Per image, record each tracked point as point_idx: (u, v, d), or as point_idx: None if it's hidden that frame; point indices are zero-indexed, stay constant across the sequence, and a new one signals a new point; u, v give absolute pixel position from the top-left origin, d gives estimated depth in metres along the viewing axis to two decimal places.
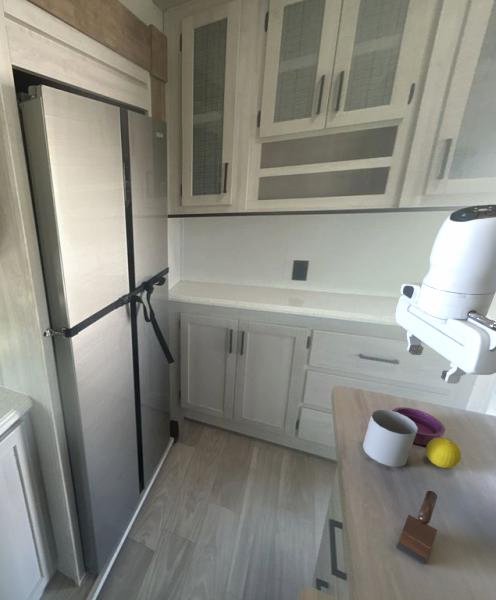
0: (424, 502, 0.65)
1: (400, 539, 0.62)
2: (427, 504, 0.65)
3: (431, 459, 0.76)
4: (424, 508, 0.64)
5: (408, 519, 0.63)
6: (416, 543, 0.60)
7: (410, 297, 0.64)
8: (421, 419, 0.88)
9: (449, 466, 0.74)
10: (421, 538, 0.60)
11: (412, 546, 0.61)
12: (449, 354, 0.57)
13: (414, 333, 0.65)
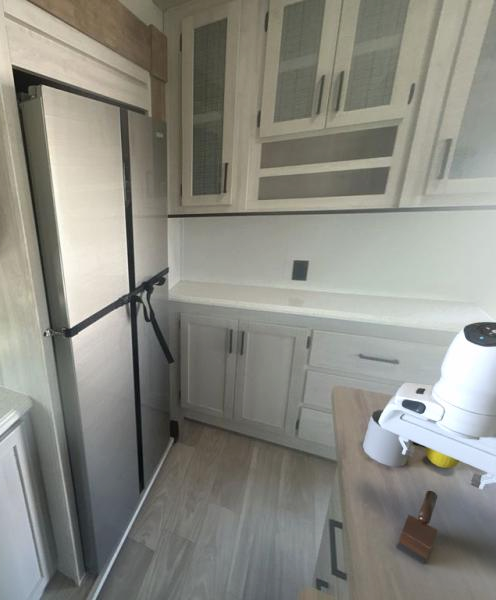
0: (424, 502, 0.65)
1: (400, 539, 0.62)
2: (427, 504, 0.65)
3: (431, 459, 0.76)
4: (424, 508, 0.64)
5: (408, 519, 0.63)
6: (416, 543, 0.60)
7: (421, 413, 0.60)
8: None
9: (449, 466, 0.74)
10: (421, 538, 0.60)
11: (412, 546, 0.61)
12: (492, 469, 0.55)
13: (421, 442, 0.62)
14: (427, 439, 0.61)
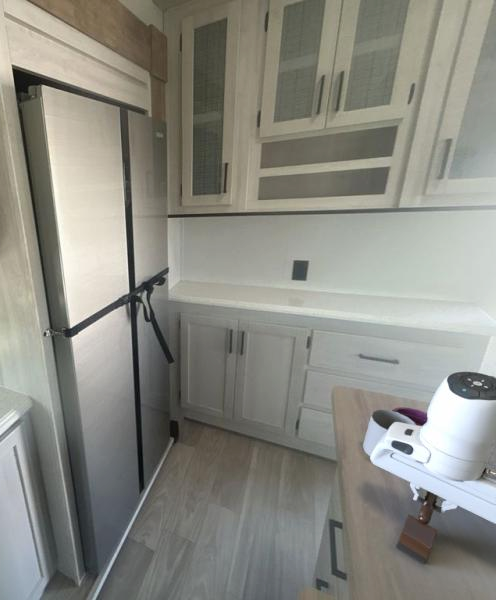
0: (424, 502, 0.65)
1: (400, 539, 0.62)
2: (427, 504, 0.65)
3: None
4: (424, 508, 0.64)
5: (408, 519, 0.63)
6: (416, 543, 0.60)
7: (409, 454, 0.63)
8: (421, 419, 0.88)
9: None
10: (421, 538, 0.60)
11: (412, 546, 0.61)
12: (476, 509, 0.59)
13: (409, 480, 0.66)
14: (415, 478, 0.65)
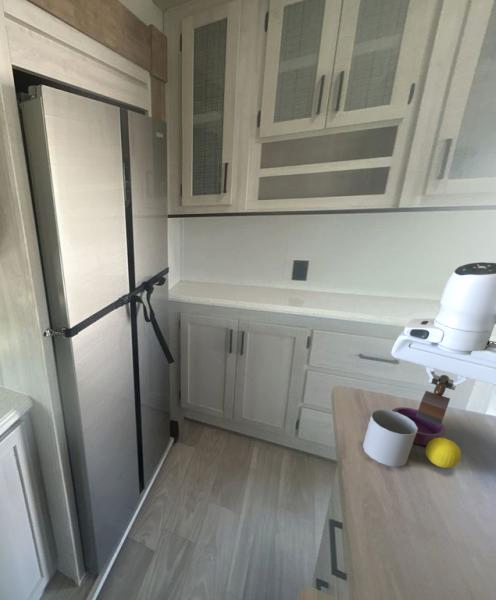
0: (438, 382, 0.78)
1: (419, 408, 0.75)
2: (440, 382, 0.77)
3: (431, 459, 0.76)
4: (439, 385, 0.77)
5: (426, 393, 0.76)
6: (433, 408, 0.73)
7: (425, 338, 0.76)
8: (421, 419, 0.88)
9: (449, 466, 0.74)
10: (437, 403, 0.73)
11: (430, 411, 0.73)
12: (482, 376, 0.71)
13: (425, 364, 0.78)
14: (431, 360, 0.77)
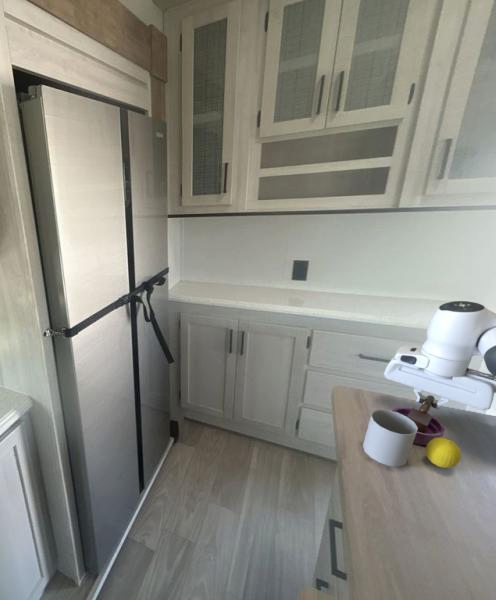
0: (425, 401, 0.89)
1: None
2: (427, 402, 0.88)
3: (431, 459, 0.76)
4: (424, 404, 0.87)
5: (412, 410, 0.87)
6: (416, 423, 0.84)
7: (413, 364, 0.86)
8: None
9: (449, 466, 0.74)
10: (420, 420, 0.84)
11: None
12: (461, 399, 0.82)
13: (413, 386, 0.89)
14: (418, 383, 0.88)
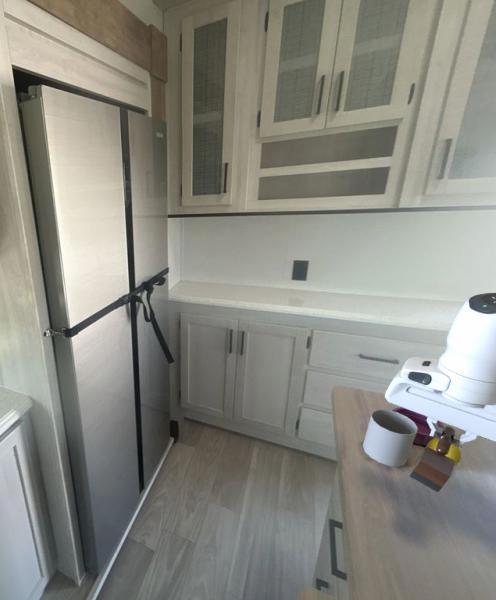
0: (442, 436, 0.63)
1: (416, 468, 0.60)
2: (445, 437, 0.62)
3: None
4: (443, 441, 0.62)
5: (426, 450, 0.61)
6: (434, 472, 0.58)
7: (427, 384, 0.61)
8: (421, 419, 0.88)
9: None
10: (440, 467, 0.58)
11: (428, 475, 0.59)
12: None
13: (426, 414, 0.64)
14: (433, 410, 0.63)
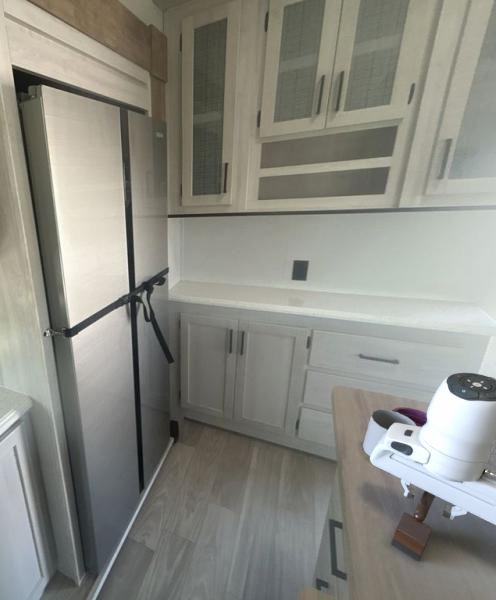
0: (421, 500, 0.66)
1: (394, 536, 0.63)
2: (423, 502, 0.65)
3: None
4: (420, 506, 0.64)
5: (403, 516, 0.64)
6: (410, 540, 0.61)
7: (408, 455, 0.63)
8: (421, 419, 0.88)
9: None
10: (415, 535, 0.61)
11: (406, 543, 0.61)
12: (475, 510, 0.59)
13: (409, 481, 0.66)
14: (415, 478, 0.65)
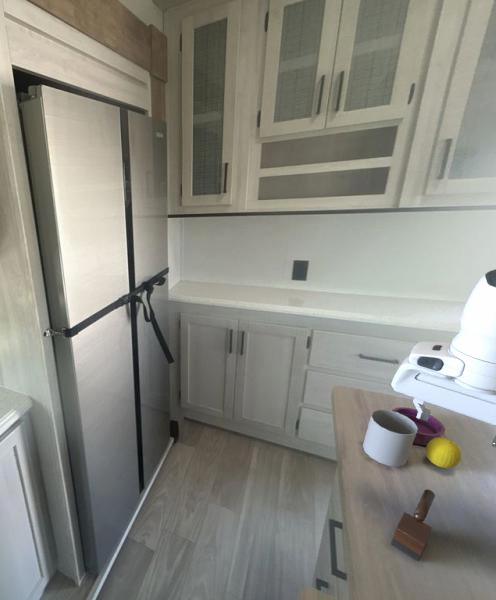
0: (421, 500, 0.66)
1: (394, 536, 0.63)
2: (423, 502, 0.65)
3: (431, 459, 0.76)
4: (420, 506, 0.64)
5: (403, 516, 0.64)
6: (410, 540, 0.61)
7: (438, 370, 0.56)
8: None
9: (449, 466, 0.74)
10: (415, 535, 0.61)
11: (406, 543, 0.61)
12: None
13: (437, 403, 0.58)
14: (444, 399, 0.57)
